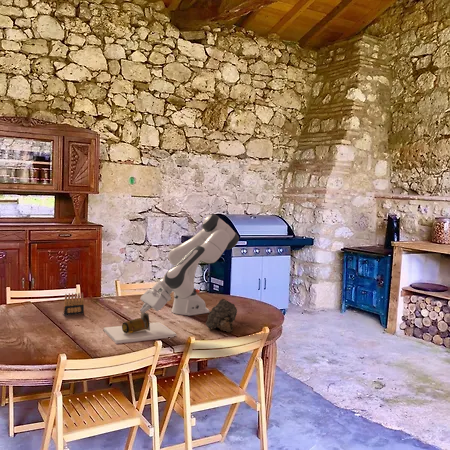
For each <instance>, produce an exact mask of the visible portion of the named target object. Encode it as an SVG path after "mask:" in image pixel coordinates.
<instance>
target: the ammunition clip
mask: <svg viewBox="0 0 450 450" xmlns="http://www.w3.org/2000/svg"><path fill="white" fill-rule="evenodd" d="M84 301H85V300H84V293H83V292H81V294H80V292H78V293H77V292H75V293H73V292H72V293H71V294H70V293H68V294H67V293H65V295H64V301H63V302H64V304H63V305H64V306H63V316H73V315H84V314H85V310H84Z"/></svg>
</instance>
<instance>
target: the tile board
mask: <svg viewBox="0 0 450 450" xmlns="http://www.w3.org/2000/svg"><path fill="white" fill-rule="evenodd" d="M149 323H150V331H149V330H141V331H137V332H133V333H124V332H123V330H122V325H117V326H108V327H107V326H105V327H103V328H102V329H103V332H104V333H105V334H106V335H107V336H108V337H109V339H111V340H112V341H113V342H114V344H124V343H125V344H126V343H132V342H141V341H142V342H143V341H150V340H151V341H152V340H160V339H169V338H168V337H170V338H175V337H174V336H176V337H177V335H178V334H177V333H176V332H175V331H174V330H172V329H170V328H169V327H168V326H166V325H164V324H163V323H162V322H159V321H158V322H149Z"/></svg>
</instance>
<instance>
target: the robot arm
mask: <svg viewBox="0 0 450 450" xmlns="http://www.w3.org/2000/svg"><path fill="white" fill-rule="evenodd" d="M201 227H202V229H201V230H199V232H197V233H196V234H195V235H193V236H192V237H191V238H189V239H188V240H186V241H184V242H183V243H181V244H179V245H178V246H176V247H175V248H172V249H170V250H169V252H168V256H167V257H168V261H169V263H170V264H171V265H173V266H172V267H171V268H170V269H168V270H167V271H166V273H165V274H164V275H163V276H162V278H161V279H159V280H158V281H157V282H156V283H155V284H154V286H152V288H149V289H147V290H146V291H145V292H144V293H143V294H142V295H141V296H140V298H139V299H140V301H141V302H142V303H143V304H142V306H141V308H140V309H139V311H140V313H141V312H142V313H147V312H148V311H149V310H151V309H153V310H155V311H156V312H159V311H161V309H163V307H164V306H165V305H166V304H167V303H168V302H170V301H171V300H172V297H171V294H172V293H173V303H172V304H173V305H172V308H171V312H172V313H173V314H176V315H183V316H197V315H202V314H209V312H210V309H209V308H207V307H206V302H205V300H204V299H203V298H202V297H201V296H199V293H200V291H201V290H200V289H198V288H195V276H196V271H197V268H198V265H199V263H200V261H201V262H203V263H206V264H214V263H216V262H217V261H218V260H219V259H220V258H221V256H222V255H223V254H224V252H225V251H226V250H231V249H233V248H235V246H237V245H238V243H239V239H240V237H239V234H238V233H237V232H235V230H233V228H232V227H231V226H230V225H229V224H228V223H226V222H225V221H224V220H223V219H222V218H220V216H218V215H217V214H214V213H212V214H209V215H207V216H206V217H205V218H204V220H203V222H202V224H201Z"/></svg>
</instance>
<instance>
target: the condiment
mask: <svg viewBox="0 0 450 450" xmlns="http://www.w3.org/2000/svg"><path fill="white" fill-rule="evenodd" d="M149 315H150V314H149V313H147V312H145V313H142V312H141V311H140V317H138V318H135V319H131V320H129V319H128V321H124V322H122V324H121V326H122V330H123V332H124V333H133V332H137V331H141V330H149V331H150V323H151V322H150V317H149Z"/></svg>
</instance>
